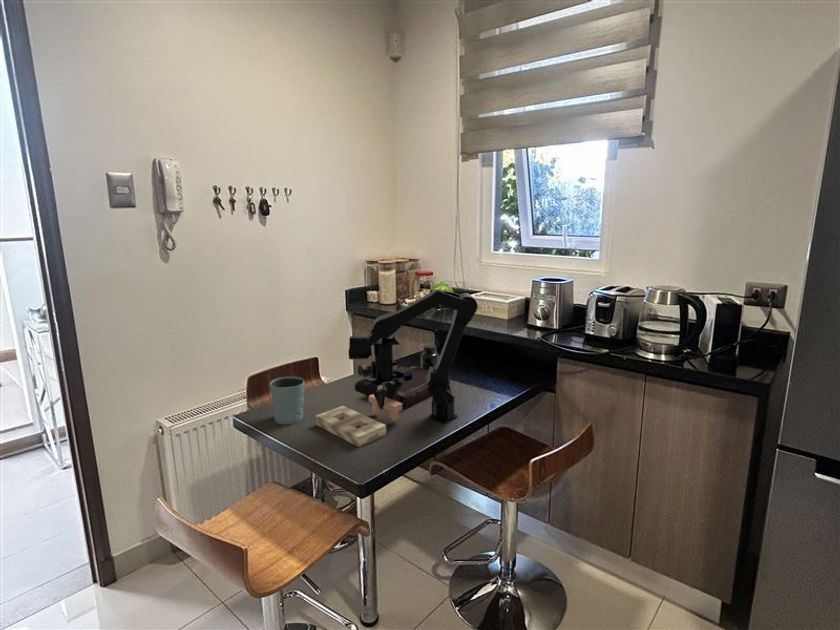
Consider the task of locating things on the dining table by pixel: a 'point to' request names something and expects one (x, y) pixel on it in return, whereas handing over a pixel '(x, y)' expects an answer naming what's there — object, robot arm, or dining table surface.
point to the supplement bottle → (429, 357)
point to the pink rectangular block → (387, 407)
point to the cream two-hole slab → (351, 425)
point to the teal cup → (287, 399)
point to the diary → (413, 388)
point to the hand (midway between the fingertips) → (385, 407)
